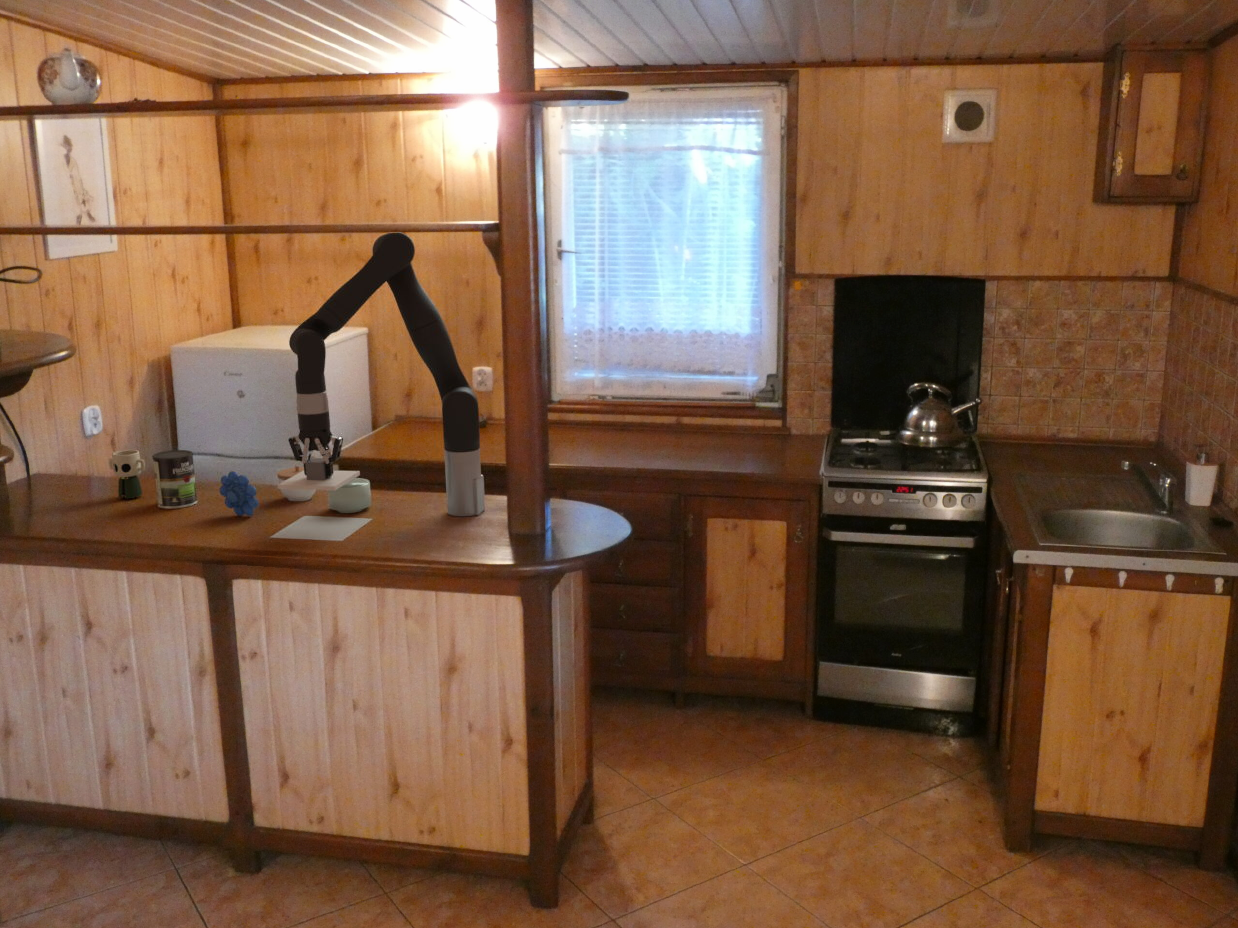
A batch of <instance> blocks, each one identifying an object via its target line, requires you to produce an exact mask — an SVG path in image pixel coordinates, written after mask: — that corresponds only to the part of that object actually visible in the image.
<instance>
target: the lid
mask: <svg viewBox="0 0 1238 928" xmlns="http://www.w3.org/2000/svg"><path fill="white" fill-rule="evenodd" d="M325 464H326V463H325V462H324V459H323V457H322V458H321V457H320V458H319V457H314V458H311V460H309V461H307V462H305V465H306V475H307V476H306V475H305V474H304V471H302V472H300V473H298V474H296V475H295V476H293V477H291V478H289V479H287V480H285V481H284V482H282V483H280V484H279V483H278V484H277V489H278V490H280V489H300V490H316V491H328V490H337V489H338V488H340V487H341V486H343V485H345V484H346V483H348V482H349V481H351V480H353V479H354V478H358V477H359V476H361V471H360V470H333V472H334V473H333V475H332V476H331V477H330V478H326V474H325Z"/></svg>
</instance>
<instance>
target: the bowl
mask: <svg viewBox="0 0 1238 928" xmlns="http://www.w3.org/2000/svg"><path fill="white" fill-rule="evenodd" d="M327 497H328V498H327V501H328V508H329V509H331V510H333V511H336V512H337V513H341V514H354V513H358V512H363V510H365V509H366V508H368V507H370V506H371V505H372V498H371V497H372V495H371V482H370V480H369V479H367V478H362V477H361V478H360V477H356V478H354V479H353V480H351V481H349V482H348V483H346V484H345V485H343V486H341V487H340V488H338V489H337V490H327Z"/></svg>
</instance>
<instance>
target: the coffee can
mask: <svg viewBox="0 0 1238 928" xmlns="http://www.w3.org/2000/svg"><path fill="white" fill-rule="evenodd" d="M151 457H152V460H153V461H152V462H153V469H154V477H155V485H156V486H155V488H156V495H157V497H156V498H157V506H158V508H161V509H166V510H168V509H169V510H174V509H183V508H189V507H191V506H195V505H197V504H198V502H199V501H198V495H197V488H196V487H197V485H196V475H195V466H194V452H193V451H191V450H186V449H177V450H166V451H161V452H156V453H154V454H153V455H152V456H151ZM194 504H195V505H194Z"/></svg>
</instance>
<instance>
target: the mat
mask: <svg viewBox="0 0 1238 928" xmlns="http://www.w3.org/2000/svg"><path fill="white" fill-rule="evenodd" d="M372 520H373V518H363V517H344V516H343V517H341V516H340V517H339V516H321V515H318V516H317V515H304V516H302V517H300V518H299V519H297V520H295V521H294V522H292V523H291V524H289V525H287V526H285V527H284V528H282V529H280V530H279V531H277V532H276V533H274V534H273V535H271V536H270V537H269V538H271V539H273V538H274V539H290V540H291V539H293V540H314V541H329V542H331V541H332V542H343V541H344V540H345V539H348V538H349V536H351V535H353V534H354V533H355V532H357V531H359V530H360V529H361V528H362V527H364V526H365V525H366V524H368V523H370V521H372Z"/></svg>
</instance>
